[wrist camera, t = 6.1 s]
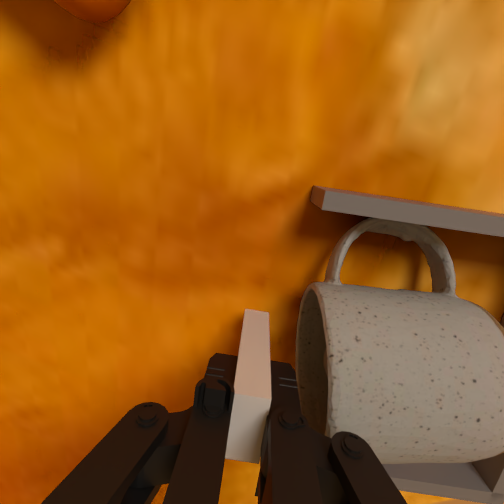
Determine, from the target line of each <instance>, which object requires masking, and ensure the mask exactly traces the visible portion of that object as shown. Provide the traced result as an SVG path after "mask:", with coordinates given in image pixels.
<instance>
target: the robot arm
mask: <svg viewBox="0 0 504 504" xmlns="http://www.w3.org/2000/svg"><path fill="white" fill-rule="evenodd" d="M297 387H298V386H297V381H296V373H295V370H294V369H293V368H292V366H291V365H290V364H289V363H283V362H276V361H270V333H269V312H262V311H256V310H250V309H245V313H244V320H243V326H242V333H241V339H240V345H239V352H238V356H233V355H226V354H220V353H216V354H215V355H213V356H212V357H211V358H210V360H209V363H208V366H207V370H206V373H205V376H204V378H203V379H202V380H200V381H199V382H198V383H197V385H196V387H195V396H194V404H193V406H192V407H190V408H189V409H187V410H185V411H181V412H175V413H168V411H167V410H166V408H165V407H164V406H162V405H161V404H159V403H154V402H148V403H142V404H139V405H137V406H135V407H134V408H132V409H131V410H130V411H129V412H128V413H127V414H126V415H125V416H124V417H123V418H122V419H121V420H120V421H119V422H118V423H117V424H116V425H115V426H114V427H113V428H112V430H111V431H110V432H109V433H108V434H107V435H106V436H105V437H104V438H103V439H102V440H101V441H100V442H99V443H98V444H97V445H96V446H95V447H94V448H93V449H92V451H91V452H90V453H89V454H88V455H87V456H86V457H85V458H84V459H83V460H82V461H81V462H80V463H79V464H78V465H77V466H76V467H75V468H74V469H73V471H72V472H71V473H70V474H69V475H68V476H67V477H66V478H65V479H64V480H63V481H62V482H61V483H60V484H59V485H58V486H57V487H56V488H55V489H54V490H53V492H52V493H51V494H50V495H49V496H48V497H47V498H46V499H45V500H44V501H43V502H42V503H41V504H151V502H152V501H153V499H154V497H155V496H156V494H157V492H158V491H159V489H160V487H161V485H162V484H167V483H169V485H168V488H167V491H166V495H165V498H164V501H163V504H218V501H219V494H220V487H221V481H222V474H223V467H224V460H225V458H226V459H232V460H238V461H245V462H251V463H257V464H259V461H260V472H259V477H258V482H257V488H256V493H255V496H258V504H407V503H406V501H405V499H404V498H403V496H402V495H401V493H400V492H399V490H398V489H397V487H396V486H395V484H394V482H393V481H392V479H391V478H390V476H389V475H388V473H387V472H386V470H385V468H384V467H383V465H382V464H381V462H380V461H379V459H378V458H377V456H376V455H375V453H374V451H373V450H372V448H371V447H370V446H369V444H368V443H367V442H366V441H365V440H364V439H362V438H361V437H360V436H358V435H356V434H354V433H351V432H346V431H341V432H337V433H335V434H334V435H333V436H332V438H330V437H327V436H325V435H323V434H320V433H318V432H316V431H315V430H313V429H312V428H311V427H309V424H308V422H307V419H306V418H305V417H304V416H303V414H302V413H301V406H300V399H299V393H298V388H297ZM260 456H261V458H260Z"/></svg>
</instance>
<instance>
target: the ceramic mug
mask: <svg viewBox="0 0 504 504" xmlns="http://www.w3.org/2000/svg"><path fill="white" fill-rule="evenodd" d="M365 231H370V232H375V233H382V234H389V235H393V236H397V237H399V238H401V239H402V240H404V241H412V240H413V241H414V242H416V243H417V244H418V246H419V247H420V248H421V249H422V251H423V252H424V254H425V256H426V258H427V262H428V265H429V267H430V271H431V277H432V292H421V291H410V290H404V289H400V290H390V289H382V288H375V287H367V286H358V285H347V284H342V283H341V282H340V277H339V274H340V268H341V266H342V264H343V260H344V258H345V255H346V253H347V251H348V248H349V247H350V245H351V244H352V242H353V241H354V240H355V239H357V238H358V237H359V235H360V234H362V233H364V232H365ZM455 288H456V281H455V271H454V265H453V261H452V259H451V257H450V254H449V252H448V249H447V247H446V245H445V244H444V242H443V241H442V240H441V239H440V238H439V237H438V236H437V235H436V234H435V233H434V232H433V231H432V230H430V229H429V228H428V227H427V226H425V225H420V224H413V223H407V222H400V221H393V220H387V219H380V218H373V217H370V218H367V219H365V220H363V221H361V222H359V223H358V224H356V225H355V226H353V227H352V228H351V229H349V230H348V231H347V232H346V233H345V234H344V235H343V236H342V237H341V238H340V239H339V241H338V242H337V244H336V245H335V247H334V249H333V251H332V254H331V256H330V259H329V262H328V266H327V269H326V274H325V280H324V282H314V283H311V284H309V285H308V286H307V289H306V290H305V292H304V295H303V297H302V300H301V303H300V311H299V317H298V322H297V334H296V381H297V386H298V387H297V388H298V393H299V399H300V406H301V413H302V414H303V416H304V417H305V418H306V419H307V422H308V424H309V427H311V428H312V429H313V430H315V431H316V432H318V433H320V434H323V435H325V436H327V437H330V438H332V436H333V435H334V434H335V433H337V432H341V431H346V432H351V433H354V434H356V435H358V436H360V437H361V438H362V439H364V440H365V441H366V442H367V443H368V444H369V446H370V447H371V448H372V450H373V451H374V453H375V455H376V456H377V458H378V459H379V461H380V462H381V464H406V463H466V462H473V461H477V460H482V459H486V458H490V457H494V456H496V455H499V454H502V453H504V328H503V327H502V326H501V325H500V323H499V322H498V321H497V320H496V319H495V318H494V317H493V316H492V315H491V314H490V313H489V312H488V311H486V310H485V309H483V308H482V307H481V306H479V305H476V304H474V303H472V302H470V301H467V300H463V299H460V298H458V297H457V296H456V295H455Z"/></svg>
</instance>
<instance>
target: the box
mask: <svg viewBox="0 0 504 504" xmlns="http://www.w3.org/2000/svg"><path fill="white" fill-rule="evenodd" d="M310 201H311V202H312V203H314V204H315V205H316V206H318V207H319V208H320V209H321V210H327V211H334V212H340V213H347V214H353V215H360V216H367V217H373V218H380V219H387V220H393V221H400V222H407V223H413V224H420V225H427V226H433V227H440V228H447V229H453V230H460V231H466V232H473V233H480V234H486V235H493V236H500V237H504V214H499V213H492V212H486V211H479V210H472V209H466V208H459V207H452V206H446V205H439V204H432V203H426V202H419V201H413V200H406V199H399V198H393V197H386V196H379V195H373V194H366V193H359V192H353V191H346V190H339V189H333V188H326V187H319V186H313V189H312V195H311V200H310ZM500 325H501V326H502V327H503V328H504V315H503V317H502V320H501V322H500ZM382 465H383V467H384V468H385V470H386V472H387V473H388V475H389V476H390V478H391V479H392V481H393V482H394V484H395V486H396V487H397V489H398V490H401V491H408V492H414V493H421V494H427V495H434V496H440V497H447V498H454V499H460V500H467V501H473V502H480V503H486V504H503V503H504V453H502V454H499V455H496V456H494V457H490V458H486V459H482V460H477V461H473V462H466V463H406V464H382Z"/></svg>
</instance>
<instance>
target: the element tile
mask: <svg viewBox="0 0 504 504" xmlns="http://www.w3.org/2000/svg"><path fill="white" fill-rule="evenodd" d="M53 1H54V2H56V3H57V4H58V5H60V6H61V7H62V8H63V9H65V10H66V11H68V12H69V13H71V14H72V15H73V16H75V17H77V18H79V19H82V20H85V21H87V22H90V23H98V22H106V21H108V20H110V19H112V18H113V17H115V16H117V15H118V14H120V13H121V11H122V10H123V9H124V8H125V7H126V6H127V5H128V4H129V3H130V1H131V0H53Z"/></svg>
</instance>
